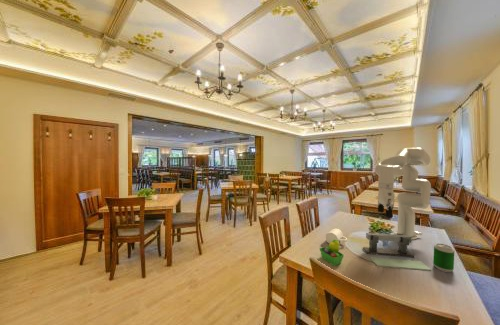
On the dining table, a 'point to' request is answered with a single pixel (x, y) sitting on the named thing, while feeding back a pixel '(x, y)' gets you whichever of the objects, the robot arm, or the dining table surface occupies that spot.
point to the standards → (391, 252)
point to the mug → (335, 236)
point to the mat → (400, 263)
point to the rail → (387, 237)
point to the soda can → (443, 257)
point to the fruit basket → (332, 253)
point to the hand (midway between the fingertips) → (384, 214)
